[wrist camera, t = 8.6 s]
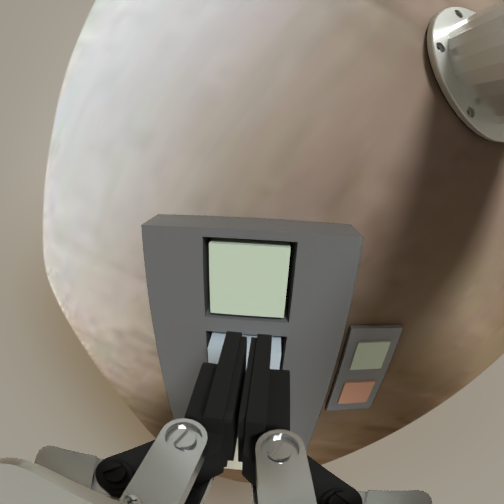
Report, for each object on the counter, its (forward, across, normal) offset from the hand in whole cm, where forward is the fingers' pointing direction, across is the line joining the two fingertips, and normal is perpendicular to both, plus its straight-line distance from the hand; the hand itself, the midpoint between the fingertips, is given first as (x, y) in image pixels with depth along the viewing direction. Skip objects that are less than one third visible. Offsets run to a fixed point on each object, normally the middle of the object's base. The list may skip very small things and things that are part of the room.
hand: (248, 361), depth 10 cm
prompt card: (+11, -10, +11) cm, 19 cm away
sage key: (+11, +1, +1) cm, 11 cm away
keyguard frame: (+11, +1, +11) cm, 16 cm away
